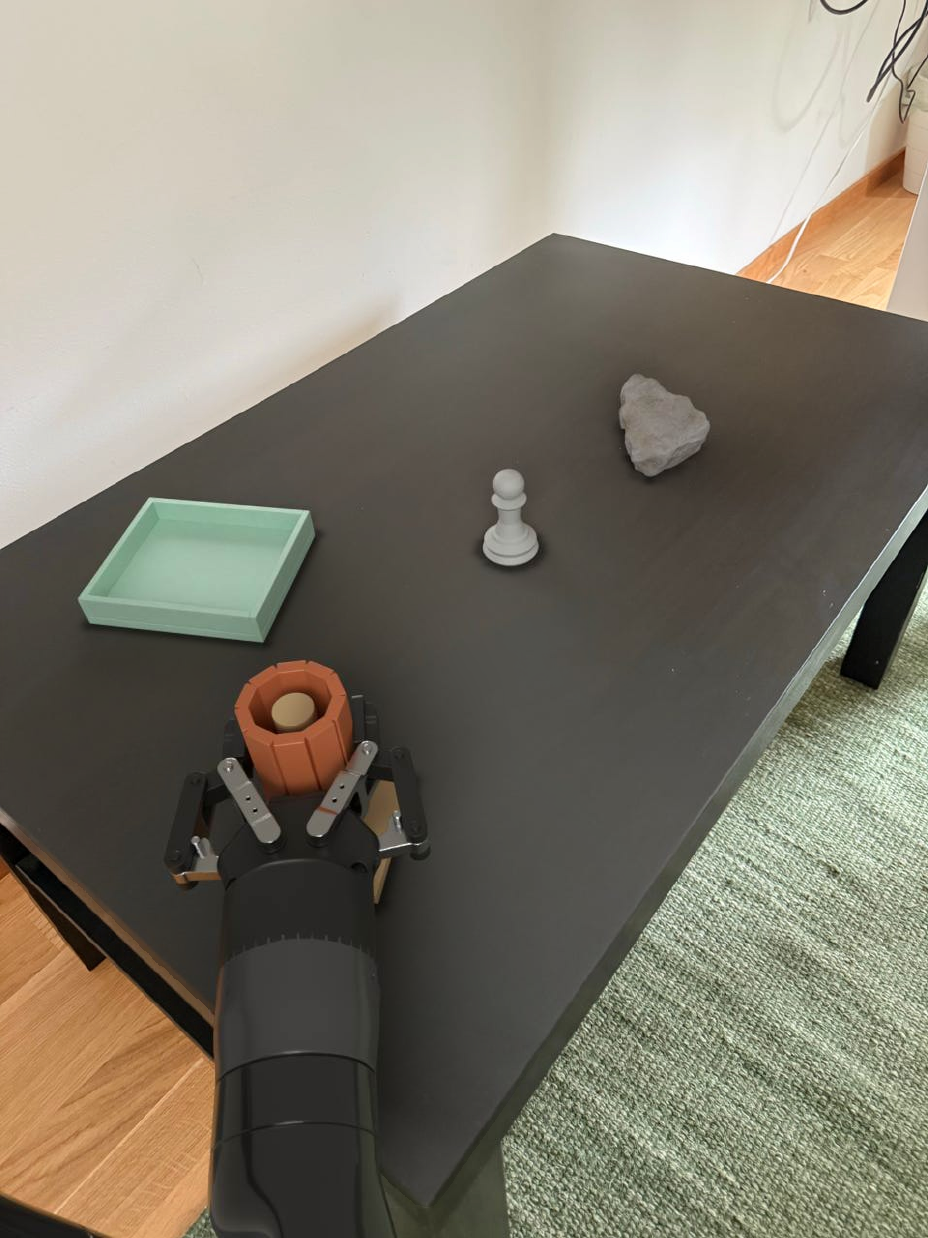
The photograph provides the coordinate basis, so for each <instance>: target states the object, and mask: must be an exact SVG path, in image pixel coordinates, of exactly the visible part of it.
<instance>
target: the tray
mask: <svg viewBox="0 0 928 1238" xmlns="http://www.w3.org/2000/svg"><path fill="white" fill-rule="evenodd" d="M315 537H316V532H315V526H314V523H313V520H312V514H311V511H310V510H306V509H304V510H303V509H296V508H295V509H293V508H282V507H269V506H257V505H245V504H234V503H220V502H209V501H199V500H198V501H196V500H185V499H174V498H173V499H172V498H159V497H148V498H147V500H146V501H145V503H144V504H143V506H142V507H141V508H140V510H139V511H138V512H137V514H136V515H135V517H134V518H133V519H132V522H130V524H129V525H128V527H127V528H126V530H125V531H124V533H122V535H121V536H120V538H119V539H118V541H117V543H116V544H115V545H114V547H113V548H112V549H111V551H110V552H109V553H108V555H107V556H106V558H105V559H104V561H103V562H102V563H101V565H100V566H99V568H98V569H97V571H96V572H95V573H94V575H93V577H92V578H91V579H90V581H89V582H88V584H87V585H85V588H84V589H83V591H82V592H81V593H80V595H79V596H78V597H77V601H78V603H79V605H80V607H81V609H82V611H83V613H84V615H85V617H86V619H87V621H88V623H89V624H94V625H102V626H111V627H120V628H128V629H138V630H145V631H155V632H165V633H172V634H181V635H191V636H199V637H200V636H201V637H207V638H219V639H225V640H226V639H227V640H237V641H246V642H254V643H264V642H265V640H266V638H267V635H268V634H269V632H270V630H271V628H272V626H273V624H274V622H275V620H276V617H277V615H278V614H279V611H280V609H281V607H282V605H283V603H284V601H285V599H286V597H287V595H288V593H289V590H290V589H291V586H292V584H293V583H294V580H295V578H296V576H297V574H298V572H299V570H300V568H301V566H302V564H303V562H304V559H305V558H306V556H307V554H308V552H309V549H310V547H311V545H312V543H313V541H314V539H315Z"/></svg>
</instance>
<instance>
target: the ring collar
mask: <svg viewBox="0 0 928 1238" xmlns="http://www.w3.org/2000/svg"><path fill="white" fill-rule="evenodd" d="M290 693H303V694H306V695H308V696H309V697H310V698H311V699H312V700H313V702H314V705H315V709H316V712H317V716H318V719H319V720H318V721H317V722H315V723H314V724H312V725H311V726H309V727H308V728H306V729H305V730H303V731H301V732H293V733H285V734H278V732H277V729H276V726H275V723H274V721H273V718H272V708H273V705H274V704H275V702H276V701H277V700H278V699H279V698H281V697H282V696H284V695H287V694H290ZM234 708H235V709H234V714H235V718H236V717H237V720H238V723H239V726H240V729H241V731H242V734H243V737H244V739H245V742H246V745H247V747H248V750H249V753H250V756H251V758H252V761H253V764H254V769H255V771H256V774H257V776H258V779H259V782H260V786H261V787H262V791H263V793H264V795H265V799H266V802H267V801H268V802H269V797H274V796H282V795H285V796H296V797H298V796H301V795H304V794H307V793H310V792H313V791H321V790H327V792H328V790H329V789H330V787H331V785H332V783H333V782H334V780H335V778H336V776H337V774H338V773H339V771H340V770H341V769H343V770H344V769H345V768H346V766H347V764H348V763H349V761H350V759H351V757H352V756H353V754H354V752H355V748H354V744H353V721H352V711H351V708H350V703H349V699H348V695H347V692H346V689H345V688H344V685H343V683H342V681H341V679H340V677H339V675H338V673H337V672H335V671H334V670H333V669H331V668H330V667H327V666H324V665H322V664H319V663H318V662H315V661H312V660H309V661H308V662H307V660H306V659H302V660H294V661H286V662H285V661H284V662H278V663H277V664H276V666H275V665H271V666H269V667H268V668H266V669H264V670H262V671H261V672H260V673H258V674H257V675H255V676H253V677H252V678H250V679H249V680H248V683H244V686H243V687H242V690H241V692H240V694H239V696H238V698H237V700H236V702H235V704H234Z"/></svg>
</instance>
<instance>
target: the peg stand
mask: <svg viewBox="0 0 928 1238" xmlns="http://www.w3.org/2000/svg"><path fill="white" fill-rule="evenodd" d="M272 718H273V721H274V723H275V726H276V729H277V732H278V734H285V733H293V732H301V731H303V730H305V729H306V728H308V727H309V726H311V725H312V724H314V723H315V722H317V721H318V720H319V719H318V716H317V712H316V709H315V705H314V702H313V700H312V699H311V698H310V697H309V696H308V695H306V694H303V693H290V694H287V695H284V696H282V697H281V698H279V699H278V700H277V701H276V702H275V704H274V705H273V708H272ZM267 802H268V801H267V800H266V803H267ZM395 811H400V809H399V805H398V800H397V795H396V790H395V786H394V782H389V781H383V780H380V782H379V784H378V786H377V788H376V790H375V792H374V793H373V795H372V797H371V799H370V804H369V809H368V812H367V814H366V816H365V818H364V820H363V821H364V822H365V823H366V824H367V825H368V827H369V828H370V829H371V830H372V831H373V832H374V833H375V834H376V835H377V836H379V835H381V834H383V833H384V832H385V831H386V829H387V822H388V819H389V817H390V816H391V815H392V814H393V812H395ZM391 860H392V857H391V858H387V859H383V860H382V861H381V864H380V866H379V868H378V870H377V872H376V874H375V877H374V904H379V902H380V898H381V895H382V891H383V888H384V884H385V881H386V877H387V873H388V871H389V867H390V864H391Z"/></svg>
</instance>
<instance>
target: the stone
mask: <svg viewBox="0 0 928 1238" xmlns="http://www.w3.org/2000/svg"><path fill="white" fill-rule="evenodd" d="M619 399H620V404H621V406H620V408H619V410H618V417H619V419H618V420H619V425H620V428H621V429H623V430H624V431H625V434H624V444H625V445H624V446H625V449H626V451H627V454H628V455H629V456H630V459H631V463H633V464H634V469H635V470H636V471H637V472H639V473H642V474H643V475H644V476H645V477H654V476H657V475H658V474H660V473H662V472H663V471H664V470H669V469H671V468H674V467H675V466H678V465H679V464H681V463H682V462H684V461H685V460H687V459H688V458H690V457H692V456H693V455H694V454H696V453H697V452H699V451H700V449H701V448H702V444H704V443H705V442H706V440H707V435H708V434H709V432H710V429H711V425H710V421H709V420H708V419H707V416H706V413H705V412H704V411H701V410H699V409H697V408H696V407H694V405H693V403H692V401H691V398H690V397H688V396H687V395H681V394H674V393H671V392H670V391H668V390H666V388H665V387H664V386H663V385H662V384H661V382H659V381H658V380H657V379H654V378H653V377H645V376H644V375H642V374H641V373H635V374H632V376H631V377H629V379H627V381H626V382H625V383H623V385H622V388H621V392H620V395H619Z"/></svg>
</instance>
